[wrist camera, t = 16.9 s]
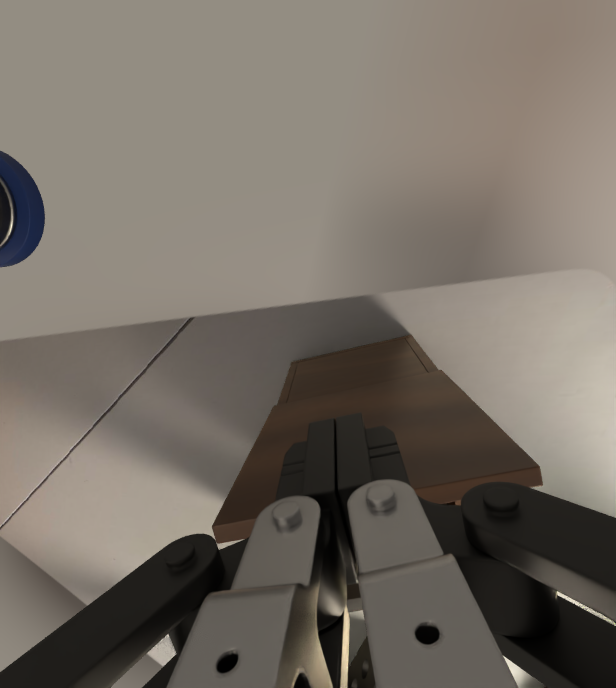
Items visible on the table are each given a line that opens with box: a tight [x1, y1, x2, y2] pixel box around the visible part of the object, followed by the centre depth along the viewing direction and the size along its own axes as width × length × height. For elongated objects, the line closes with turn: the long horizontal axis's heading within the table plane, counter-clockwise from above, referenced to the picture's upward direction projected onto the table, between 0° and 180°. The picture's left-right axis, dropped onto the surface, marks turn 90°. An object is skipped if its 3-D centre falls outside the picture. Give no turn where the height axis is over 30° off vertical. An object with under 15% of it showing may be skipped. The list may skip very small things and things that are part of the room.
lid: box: [212, 370, 543, 544], centre depth 24 cm, size 15×13×1 cm
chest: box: [277, 335, 461, 505], centre depth 39 cm, size 15×13×12 cm
